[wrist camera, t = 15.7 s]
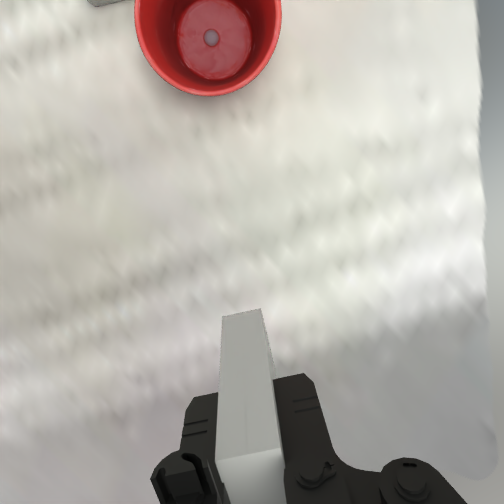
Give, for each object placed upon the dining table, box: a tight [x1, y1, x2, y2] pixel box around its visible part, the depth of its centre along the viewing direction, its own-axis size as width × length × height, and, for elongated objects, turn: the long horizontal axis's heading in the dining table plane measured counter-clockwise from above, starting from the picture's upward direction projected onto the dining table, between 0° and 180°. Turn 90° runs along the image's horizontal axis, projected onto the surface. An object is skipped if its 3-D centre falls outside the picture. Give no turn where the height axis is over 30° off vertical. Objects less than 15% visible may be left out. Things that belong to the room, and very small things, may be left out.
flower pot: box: [134, 0, 282, 96], centre depth 33 cm, size 11×11×10 cm
